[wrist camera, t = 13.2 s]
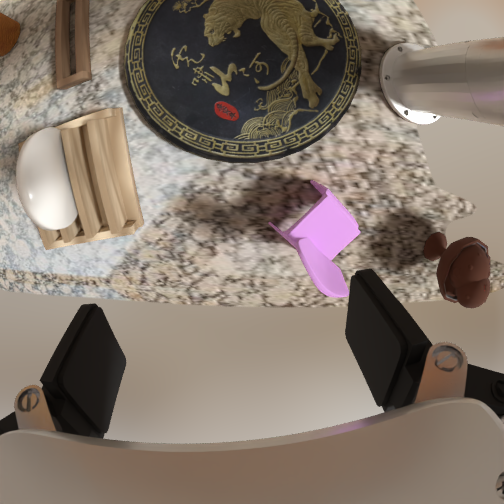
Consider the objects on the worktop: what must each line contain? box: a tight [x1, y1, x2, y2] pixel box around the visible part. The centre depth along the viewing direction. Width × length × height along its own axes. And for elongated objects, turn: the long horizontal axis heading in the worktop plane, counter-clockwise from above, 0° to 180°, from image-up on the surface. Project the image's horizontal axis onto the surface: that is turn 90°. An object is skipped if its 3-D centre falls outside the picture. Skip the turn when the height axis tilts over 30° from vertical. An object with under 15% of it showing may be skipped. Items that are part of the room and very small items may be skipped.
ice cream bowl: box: [423, 232, 490, 308], centre depth 36 cm, size 11×11×15 cm
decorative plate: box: [124, 0, 361, 163], centre depth 28 cm, size 30×2×30 cm
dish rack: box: [18, 108, 144, 250], centre depth 31 cm, size 16×16×5 cm
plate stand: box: [55, 0, 92, 89], centre depth 23 cm, size 4×15×2 cm, turn 6°
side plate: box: [16, 127, 78, 231], centre depth 26 cm, size 2×12×12 cm
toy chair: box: [268, 180, 360, 297], centre depth 32 cm, size 8×9×15 cm
